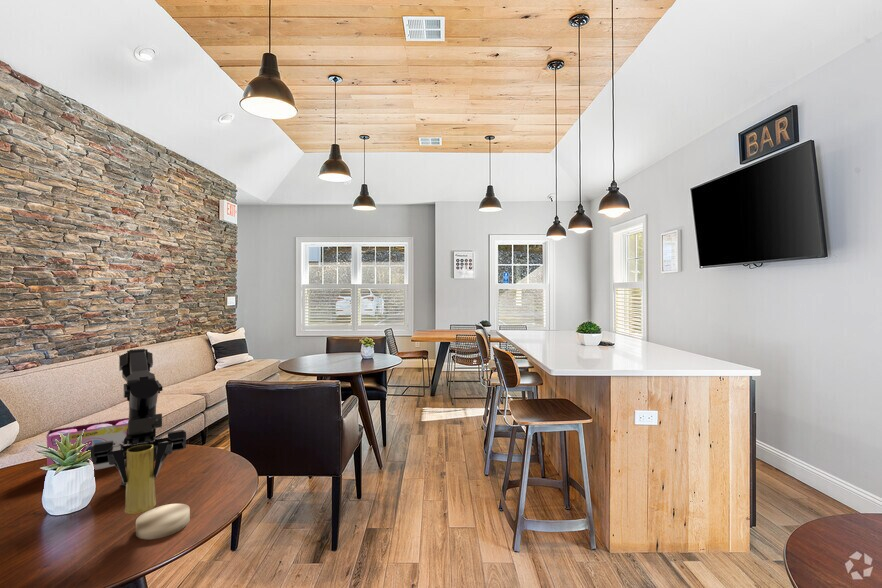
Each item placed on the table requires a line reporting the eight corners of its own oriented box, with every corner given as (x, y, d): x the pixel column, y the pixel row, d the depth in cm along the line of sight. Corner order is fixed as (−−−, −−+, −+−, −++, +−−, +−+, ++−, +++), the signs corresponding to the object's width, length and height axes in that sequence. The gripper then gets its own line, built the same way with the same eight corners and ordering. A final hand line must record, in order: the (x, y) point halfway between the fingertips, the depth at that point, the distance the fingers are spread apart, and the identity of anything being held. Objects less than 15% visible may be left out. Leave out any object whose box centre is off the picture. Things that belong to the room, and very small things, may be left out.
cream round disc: (125, 532, 99) (125, 520, 99) (173, 511, 109) (173, 499, 109) (152, 545, 94) (152, 532, 94) (199, 521, 104) (199, 509, 104)
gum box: (141, 453, 148) (141, 415, 148) (142, 460, 142) (142, 421, 142) (48, 472, 133) (48, 429, 133) (46, 480, 126) (46, 436, 126)
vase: (135, 501, 102) (135, 443, 101) (161, 500, 102) (161, 442, 102) (118, 515, 95) (117, 453, 95) (145, 514, 96) (145, 452, 96)
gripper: (91, 409, 97) (83, 474, 87) (185, 398, 107) (187, 455, 98) (96, 433, 103) (90, 496, 94) (184, 420, 113) (186, 476, 104)
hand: (140, 480), depth 97 cm, fingers closed on vase, 5 cm apart
